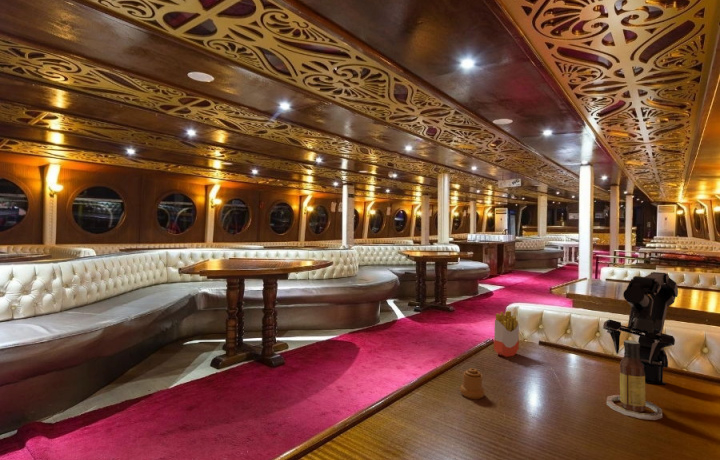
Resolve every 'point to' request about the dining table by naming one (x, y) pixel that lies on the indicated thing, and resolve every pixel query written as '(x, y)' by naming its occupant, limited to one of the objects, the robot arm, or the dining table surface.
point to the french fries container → (506, 334)
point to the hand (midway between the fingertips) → (633, 358)
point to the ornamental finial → (472, 384)
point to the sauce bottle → (632, 378)
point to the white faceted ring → (631, 413)
